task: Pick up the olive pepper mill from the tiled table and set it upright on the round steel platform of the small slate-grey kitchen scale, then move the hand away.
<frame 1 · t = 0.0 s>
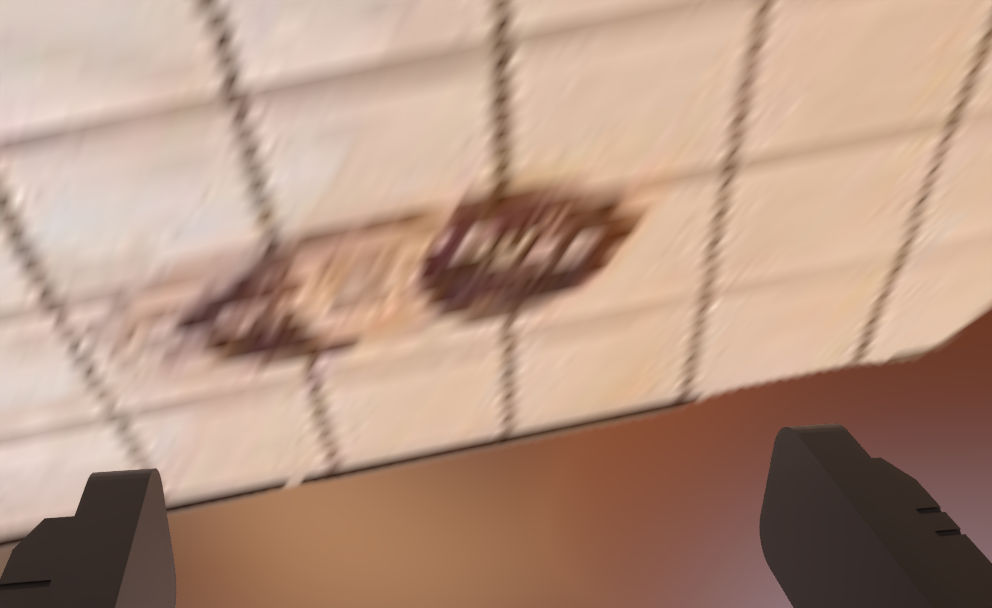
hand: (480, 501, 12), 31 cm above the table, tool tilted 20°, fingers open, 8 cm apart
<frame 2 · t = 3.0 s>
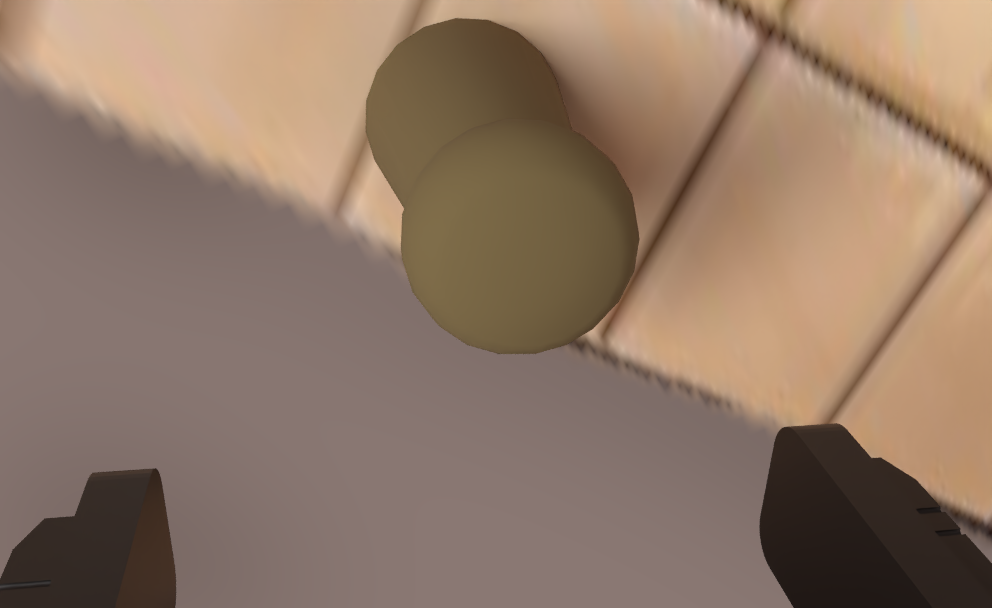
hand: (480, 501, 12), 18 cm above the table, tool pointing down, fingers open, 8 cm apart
olive pepper mill: (464, 117, 29), on the table
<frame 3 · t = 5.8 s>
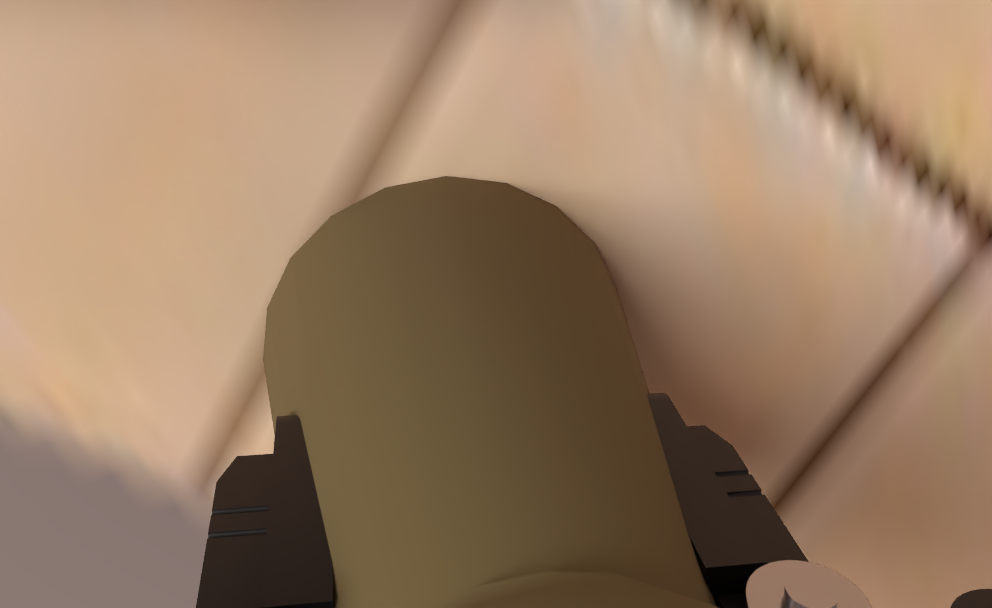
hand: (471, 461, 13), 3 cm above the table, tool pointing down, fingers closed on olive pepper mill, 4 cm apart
olive pepper mill: (445, 342, 16), on the table, touching gripper
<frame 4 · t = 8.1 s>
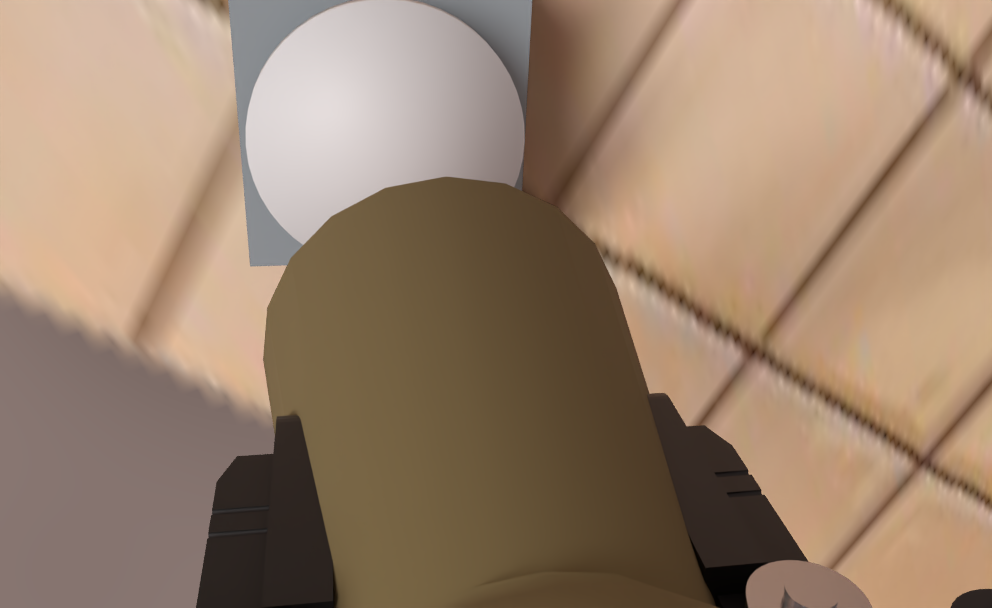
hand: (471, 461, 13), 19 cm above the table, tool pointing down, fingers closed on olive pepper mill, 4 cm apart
scale: (378, 100, 30), on the table
olive pepper mill: (445, 342, 16), point 16 cm above the table, touching gripper
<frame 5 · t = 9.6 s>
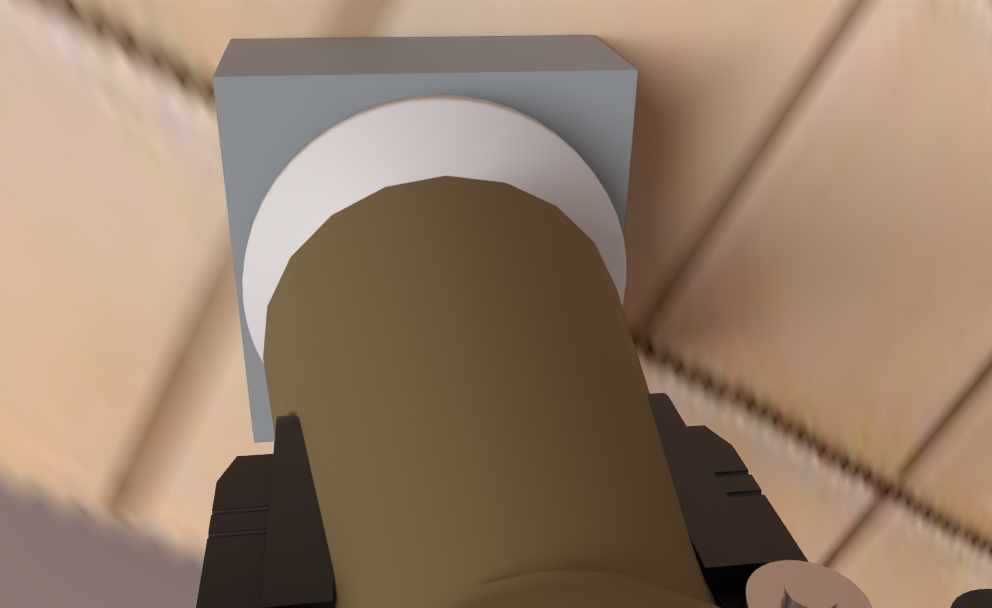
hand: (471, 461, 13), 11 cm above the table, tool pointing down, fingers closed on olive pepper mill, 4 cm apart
scale: (420, 207, 23), on the table
olive pepper mill: (445, 341, 16), point 7 cm above the table, touching gripper
when the fingers open (9 cm above the table, at t = 10.7 s): olive pepper mill drops 1 cm, resting on scale.
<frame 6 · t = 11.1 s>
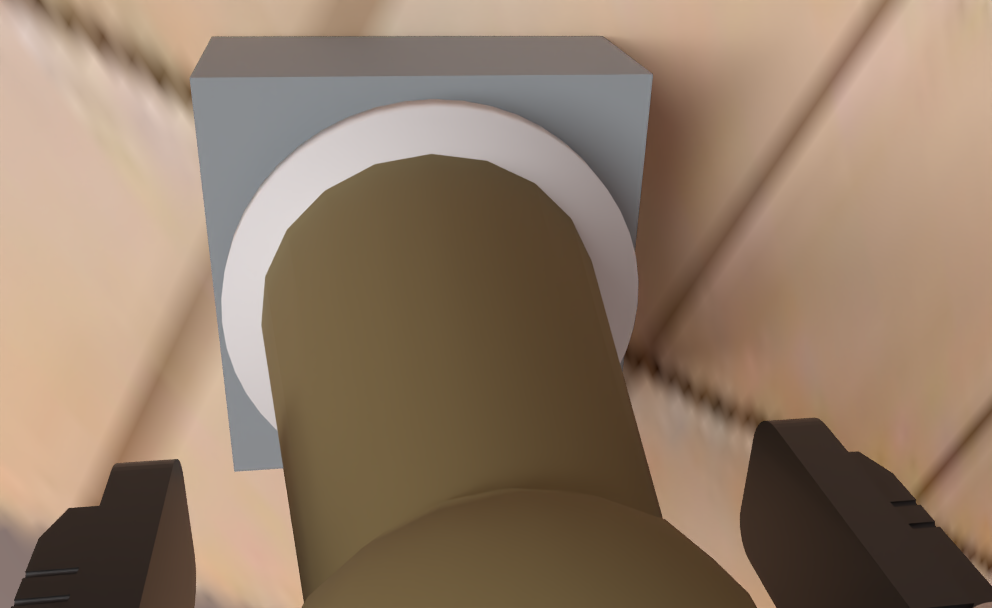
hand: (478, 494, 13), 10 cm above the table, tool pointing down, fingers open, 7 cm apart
scale: (415, 218, 21), on the table
olive pepper mill: (432, 310, 17), point 5 cm above the table, touching scale
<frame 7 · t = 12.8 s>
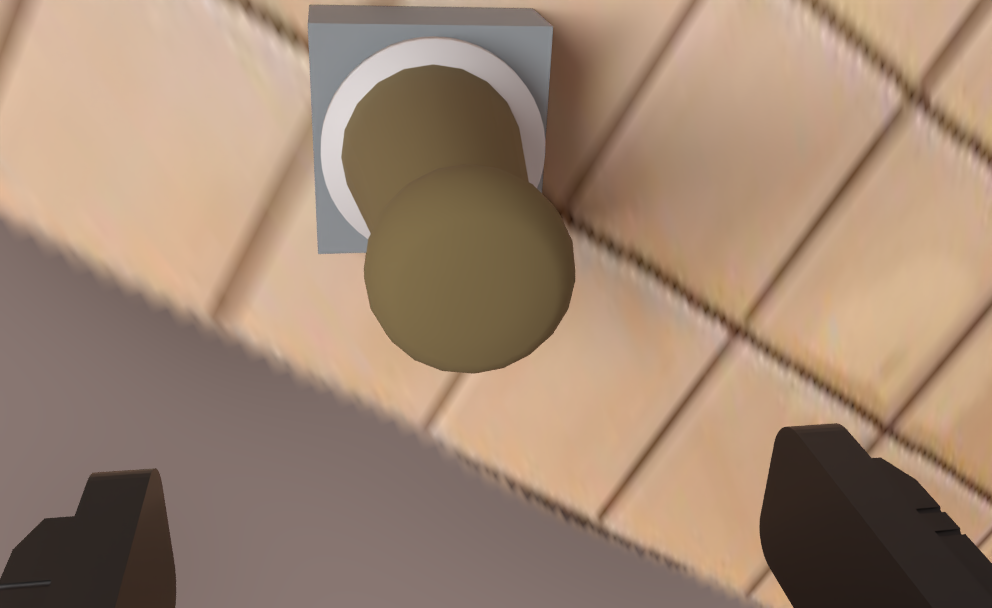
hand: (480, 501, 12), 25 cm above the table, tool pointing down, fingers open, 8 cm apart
scale: (422, 116, 36), on the table
olive pepper mill: (432, 153, 32), point 5 cm above the table, touching scale
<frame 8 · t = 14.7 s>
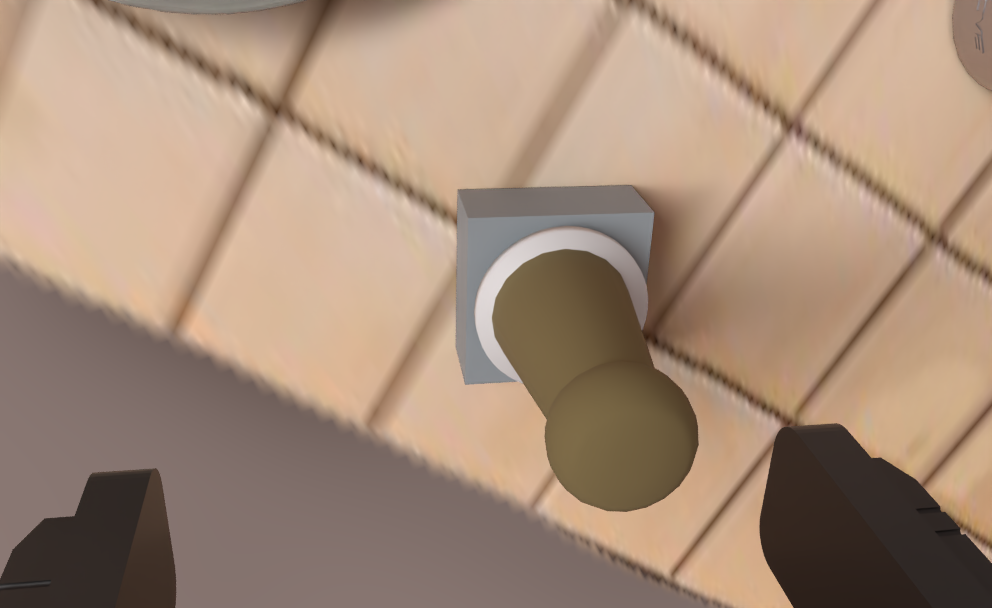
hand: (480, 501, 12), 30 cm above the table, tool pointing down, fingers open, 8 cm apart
scale: (541, 268, 45), on the table
olive pepper mill: (560, 311, 41), point 5 cm above the table, touching scale
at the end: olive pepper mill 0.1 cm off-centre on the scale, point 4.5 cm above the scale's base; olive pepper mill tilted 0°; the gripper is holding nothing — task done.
